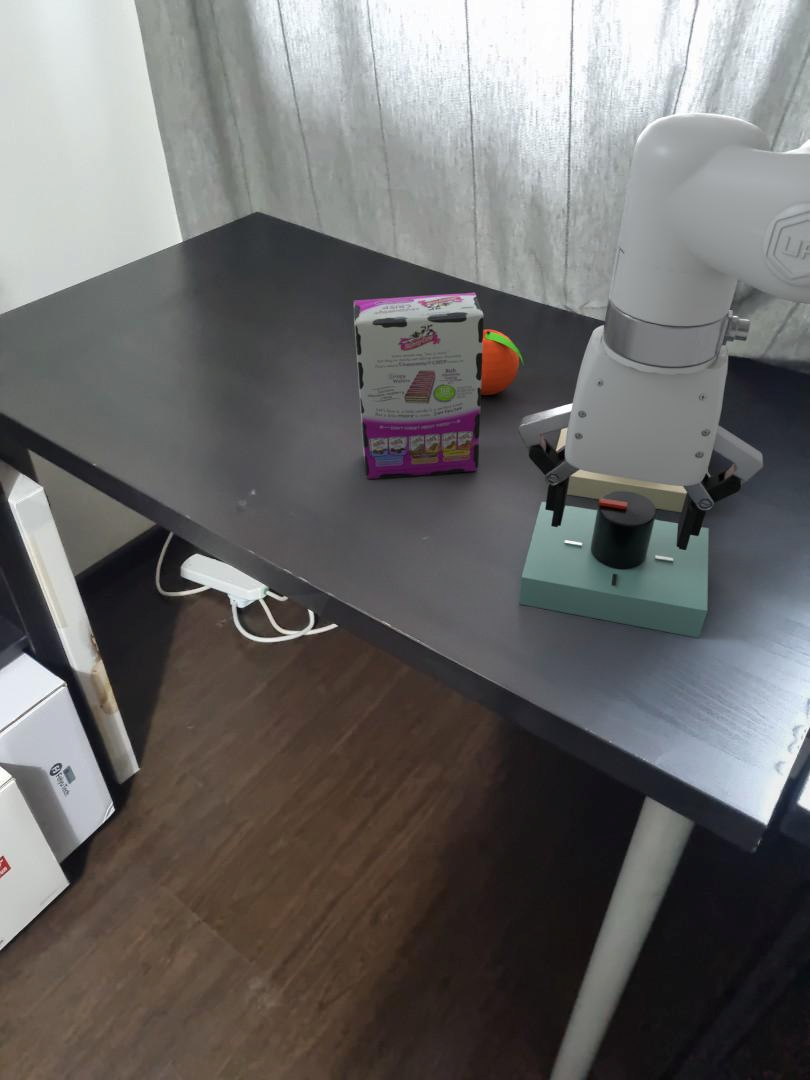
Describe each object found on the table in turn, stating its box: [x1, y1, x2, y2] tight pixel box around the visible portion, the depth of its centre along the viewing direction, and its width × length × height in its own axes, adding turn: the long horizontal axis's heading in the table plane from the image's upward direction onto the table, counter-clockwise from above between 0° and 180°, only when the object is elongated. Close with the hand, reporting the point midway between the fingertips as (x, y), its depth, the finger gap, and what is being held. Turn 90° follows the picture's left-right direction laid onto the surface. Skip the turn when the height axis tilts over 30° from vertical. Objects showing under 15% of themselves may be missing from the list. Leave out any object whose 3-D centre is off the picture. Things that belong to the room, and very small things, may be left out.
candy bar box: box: [353, 292, 485, 480], centre depth 76 cm, size 11×5×16 cm, turn 95°
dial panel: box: [518, 501, 710, 639], centre depth 68 cm, size 14×10×3 cm
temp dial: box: [591, 491, 657, 569], centre depth 65 cm, size 4×4×5 cm
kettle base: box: [547, 428, 709, 513], centre depth 79 cm, size 14×11×4 cm
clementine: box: [481, 329, 525, 396], centre depth 89 cm, size 8×7×7 cm
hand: (618, 527), depth 65 cm, fingers open, 9 cm apart
